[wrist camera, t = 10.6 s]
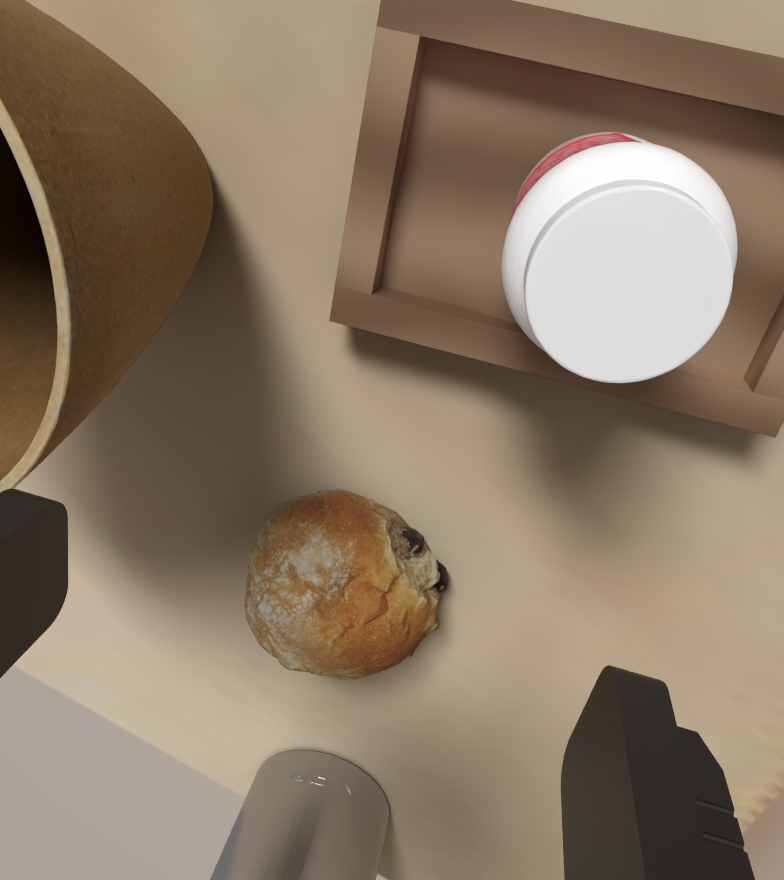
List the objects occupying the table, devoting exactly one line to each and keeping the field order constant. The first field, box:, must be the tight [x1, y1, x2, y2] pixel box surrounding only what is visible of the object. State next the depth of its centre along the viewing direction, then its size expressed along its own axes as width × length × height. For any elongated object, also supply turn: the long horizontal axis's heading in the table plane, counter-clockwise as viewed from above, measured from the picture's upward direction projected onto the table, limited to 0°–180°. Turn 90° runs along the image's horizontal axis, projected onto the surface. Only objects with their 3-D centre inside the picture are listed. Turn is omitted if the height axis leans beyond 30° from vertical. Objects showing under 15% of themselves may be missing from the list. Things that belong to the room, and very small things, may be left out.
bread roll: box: [245, 489, 449, 679], centre depth 35 cm, size 10×10×8 cm
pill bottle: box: [502, 132, 738, 383], centre depth 21 cm, size 6×6×11 cm
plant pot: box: [0, 0, 213, 492], centre depth 23 cm, size 15×15×16 cm
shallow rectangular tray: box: [330, 0, 784, 437], centre depth 25 cm, size 12×18×2 cm, turn 78°
